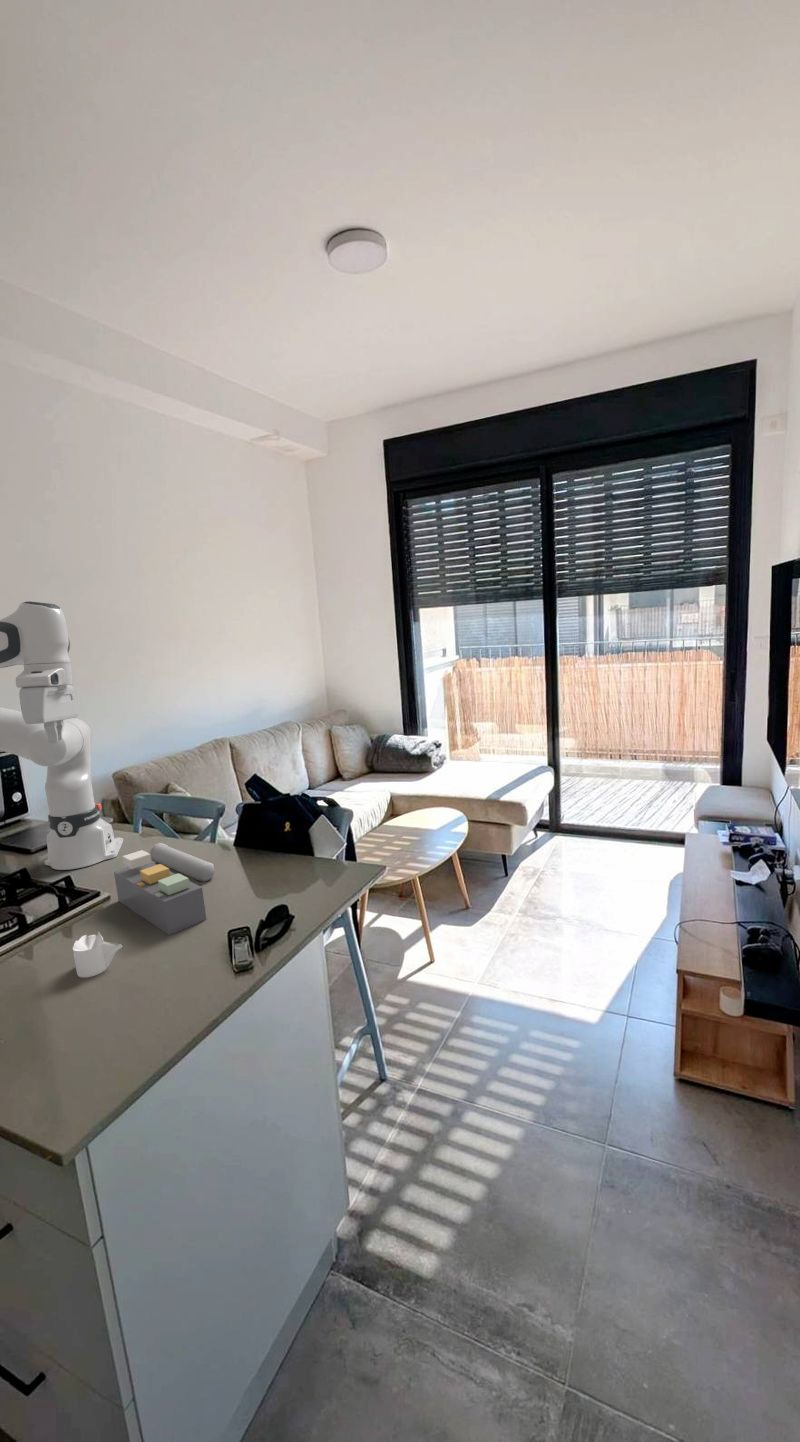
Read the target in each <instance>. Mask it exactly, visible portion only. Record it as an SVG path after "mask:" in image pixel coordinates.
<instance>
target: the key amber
mask: <svg viewBox="0 0 800 1442" xmlns="http://www.w3.org/2000/svg"><path fill="white" fill-rule="evenodd" d="M170 871H171V870H170V868H169V867H167V866H165V865H163V864H160V863H158V864H157V865H155V866H152V867H149V868H146V869H143V870H140V876H141V880H143V881H145V882H146V883H148V884H153V883H156V882H158V880H161V879H164V878H167V877H169V876H170Z"/></svg>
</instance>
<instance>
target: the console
mask: <svg viewBox="0 0 800 1442" xmlns="http://www.w3.org/2000/svg"><path fill="white" fill-rule="evenodd" d="M155 865H158V864H157V863H156V862H154V861H152V863H149V864H146V865H143V866H140V867H137V868H133V869H131V868H129V867H127V866H126V867H125V868H121V869H118V870H115V871H113V875H114V882H115V887H116V893H117V895H116V896H117V899H118V900H117V901H118V902H119V903H121V904H122V905H124V906H125V907H127V908H129V909H130V910H132V912H134V913H135V914H137V915H138V916H141V917H142V918H143V919H145V920H147V922H149V923H151V924H152V925H154V926H155V927H156V928H158V929H160V930H161V931H163V932H165V934H167V935H169V936H170V935H173V934H175V933H177V932H180V931H182V930H184V929H186V928H189V927H191V926H194V925H196V924H198V923H201V922H203V921H206V920H207V915H206V906H205V899H204V893H203V887H202V886H200V885H198V884H197V883H194V882H192V881H190V880H189V884H190V888H187V889H184V890H182V891H179V892H176V893H174V894H171V895H167V894H166V893H164V892H162V891H160V890H159V885H158V882H156V883H153V884H148V883H146V882H145V881H143V880H141V876H140V870H143V869H146V868H149V867H152V866H155ZM169 871H170V876H172V875H175V874H176V873H175V872H173V871H171V870H169Z"/></svg>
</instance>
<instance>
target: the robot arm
mask: <svg viewBox="0 0 800 1442" xmlns="http://www.w3.org/2000/svg"><path fill="white" fill-rule="evenodd" d="M70 649H71V641H70V638H69V632H68V625H67V621H66V616H65V614H64V611H63V610H62V608H61V607H60V606H58V605H56V604H55V603H49V602H48V603H47V602H40V601H39V602H38V601H24V602H23V601H22V602H21V603H20V604H19V606H18V607H17V609H16V610H15V611H14V612H12V613H11V614H9V615H7V616H5V617H3V618H1V619H0V669H2V668H3V669H4V668H8V667H13V666H23V671H22V672H21V673H20V674H18V675H17V676H16V677H15V685H16V688H17V689H19V692H18V694H19V695H18V696H19V705H20V710H21V711H20V710H16V709H11V708H6V707H1V706H0V752H4V753H5V752H6V753H9V754H12V755H15V756H18V757H20V758H23V759H26V760H28V761H31V762H33V763H34V764H36V765H38V766H41V767H47V769H46V779H45V783H44V784H45V785H44V791H45V797H46V802H47V808H48V813H49V814H48V815H47V818H48V819H47V821H48V825H49V828H50V831H49V832H48V833H47V834H46V845H47V856H48V858H47V859H45V860H44V865H45V866H48V867H49V866H50V867H51V869H54V870H58V871H65V870H67V871H68V870H75V869H81V868H85V867H88V866H89V867H90V866H93V865H95V864H98V863H100V862H102V861H106V860H109V859H113V858H116V857H117V856H118V854H119V852H120V850H121V848H122V845H123V843H124V838H123V837H119V836H118V837H116V836H115V835H114V830H113V826H112V824H111V823H108V822H107V821H105V820H104V819H103V818H101V814H100V811H102V808H103V807H102V804H101V803H95V797H94V790H93V785H92V784H93V783H92V772H91V771H92V749H91V747H92V746H91V743H92V736H93V734H92V729H91V728H90V727H91V726H89V725H88V723H86V721H84V720H82V719H80V718H77V717H78V714H79V708H78V701H77V696H76V692H75V691H76V690H75V687H74V686H72V685H73V684H74V681H73V672H72V669H73V668H72V662H71V658H70V656H69V652H70Z"/></svg>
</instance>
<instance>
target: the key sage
mask: <svg viewBox="0 0 800 1442" xmlns="http://www.w3.org/2000/svg"><path fill="white" fill-rule="evenodd" d="M189 881H190V879H189V877H187V876H186V875H183V874H182V873H180V872H179V873H175V875H172V876H169V877H167V878H164V879H161V880H158V885H159V890H160V891H162V892H164V893H166V894H167V895H171V894H174V893H176V892H179V891H182V890H184V889H187V888H190V884H189Z"/></svg>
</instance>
